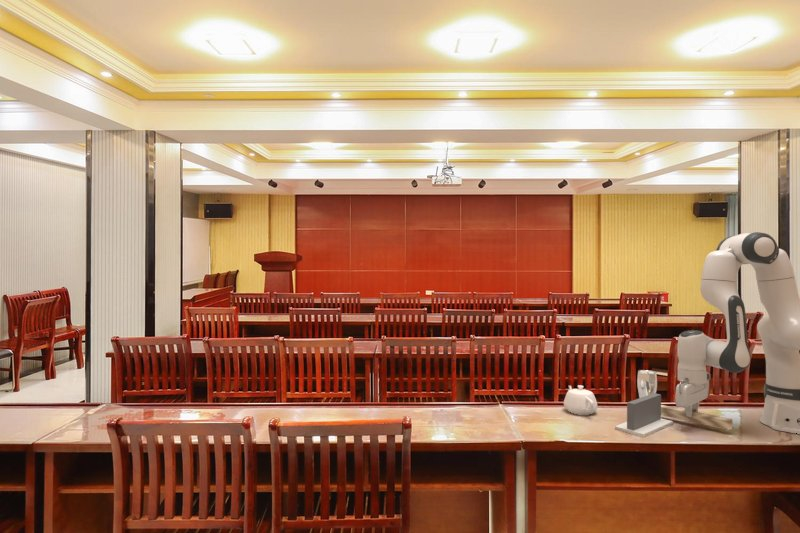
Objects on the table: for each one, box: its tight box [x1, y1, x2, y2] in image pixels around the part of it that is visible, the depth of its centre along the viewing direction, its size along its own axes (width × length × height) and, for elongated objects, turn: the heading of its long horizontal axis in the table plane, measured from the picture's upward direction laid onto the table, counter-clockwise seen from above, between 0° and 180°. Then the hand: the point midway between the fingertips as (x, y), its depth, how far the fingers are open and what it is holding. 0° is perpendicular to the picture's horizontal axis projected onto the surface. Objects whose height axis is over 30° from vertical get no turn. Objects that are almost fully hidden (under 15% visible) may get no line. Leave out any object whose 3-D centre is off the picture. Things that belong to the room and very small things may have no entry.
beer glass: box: [636, 369, 658, 399], centre depth 194 cm, size 7×7×15 cm
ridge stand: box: [614, 392, 674, 438], centre depth 174 cm, size 10×22×10 cm, turn 128°
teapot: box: [563, 384, 599, 416], centre depth 192 cm, size 20×12×10 cm, turn 6°
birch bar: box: [661, 404, 733, 431], centre depth 176 cm, size 24×3×3 cm, turn 41°
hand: (692, 415), depth 176 cm, fingers closed on birch bar, 3 cm apart
